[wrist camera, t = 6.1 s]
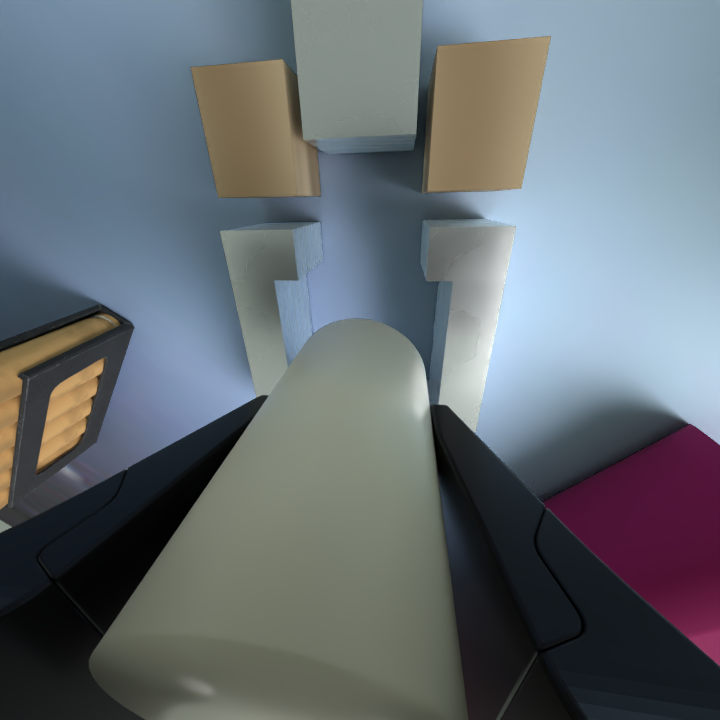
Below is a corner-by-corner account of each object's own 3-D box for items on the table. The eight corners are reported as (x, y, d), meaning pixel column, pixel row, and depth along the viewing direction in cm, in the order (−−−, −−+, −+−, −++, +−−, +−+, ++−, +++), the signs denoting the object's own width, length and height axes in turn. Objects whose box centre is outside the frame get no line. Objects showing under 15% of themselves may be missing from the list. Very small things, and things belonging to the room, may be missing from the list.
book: (335, 596, 27) (313, 729, 20) (674, 404, 14) (910, 584, 8) (501, 685, 31) (529, 820, 24) (874, 596, 18) (1140, 821, 12)
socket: (485, 219, 11) (516, 226, 8) (456, 406, 15) (470, 458, 12) (265, 223, 12) (219, 231, 9) (292, 397, 16) (266, 443, 13)
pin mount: (510, 81, 9) (551, 35, 7) (492, 191, 11) (521, 188, 8) (243, 100, 11) (190, 66, 8) (259, 198, 12) (218, 197, 9)
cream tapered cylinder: (421, 434, 10) (448, 805, 4) (304, 426, 11) (164, 745, 4) (431, 319, 8) (514, 684, 2) (288, 316, 9) (7, 603, 3)
